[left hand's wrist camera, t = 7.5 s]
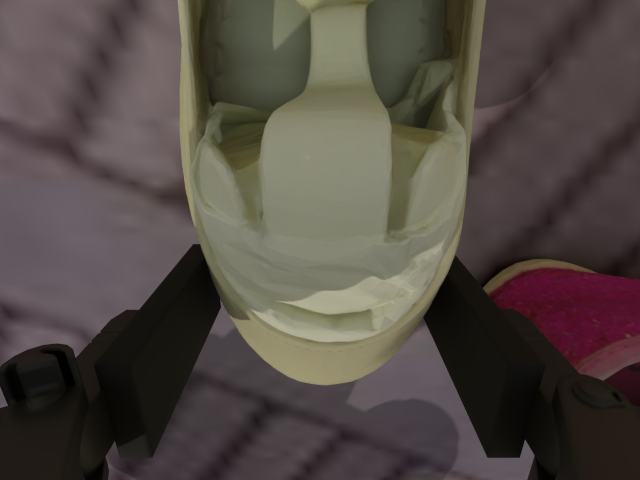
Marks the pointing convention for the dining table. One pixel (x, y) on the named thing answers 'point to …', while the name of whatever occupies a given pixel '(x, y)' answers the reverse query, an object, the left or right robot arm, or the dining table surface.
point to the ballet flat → (328, 168)
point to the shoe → (579, 316)
